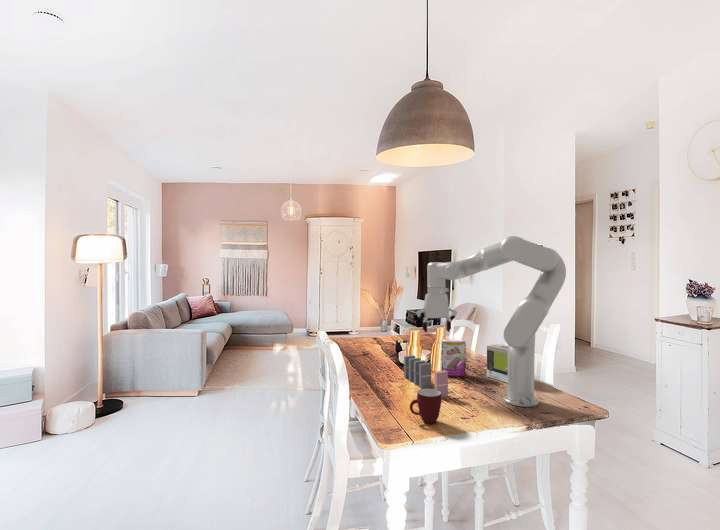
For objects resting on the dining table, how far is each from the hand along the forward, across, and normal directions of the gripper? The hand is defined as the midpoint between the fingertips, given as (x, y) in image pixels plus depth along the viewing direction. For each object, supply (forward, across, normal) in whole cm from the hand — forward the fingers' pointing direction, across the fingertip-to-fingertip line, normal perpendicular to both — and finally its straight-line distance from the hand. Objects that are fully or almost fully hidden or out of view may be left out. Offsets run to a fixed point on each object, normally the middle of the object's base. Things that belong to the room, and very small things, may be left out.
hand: (436, 331), depth 168 cm
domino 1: (+24, +10, -14) cm, 30 cm away
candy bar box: (+24, -11, -18) cm, 32 cm away
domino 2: (+24, +8, -10) cm, 27 cm away
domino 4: (+24, +5, -1) cm, 25 cm away
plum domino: (+24, +1, +11) cm, 27 cm away
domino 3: (+24, +7, -5) cm, 25 cm away
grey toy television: (+24, -34, -10) cm, 43 cm away
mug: (+24, +12, +35) cm, 44 cm away
